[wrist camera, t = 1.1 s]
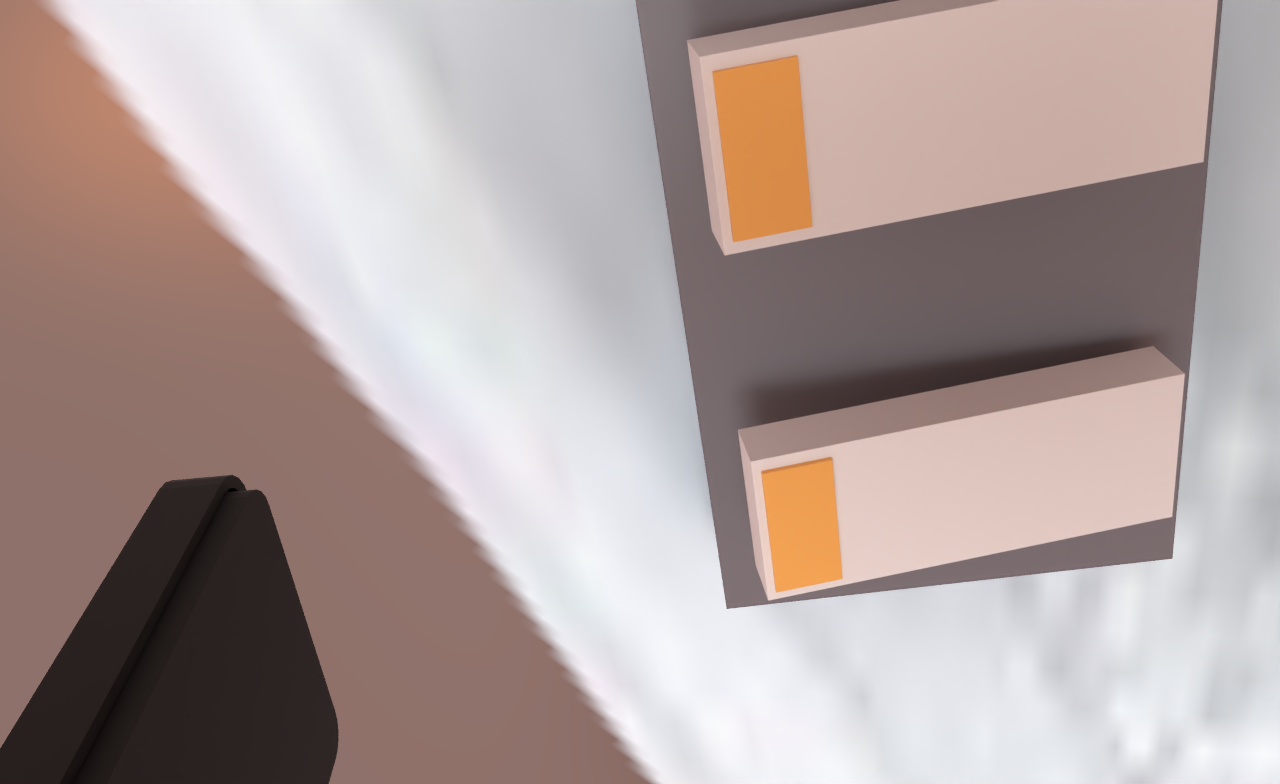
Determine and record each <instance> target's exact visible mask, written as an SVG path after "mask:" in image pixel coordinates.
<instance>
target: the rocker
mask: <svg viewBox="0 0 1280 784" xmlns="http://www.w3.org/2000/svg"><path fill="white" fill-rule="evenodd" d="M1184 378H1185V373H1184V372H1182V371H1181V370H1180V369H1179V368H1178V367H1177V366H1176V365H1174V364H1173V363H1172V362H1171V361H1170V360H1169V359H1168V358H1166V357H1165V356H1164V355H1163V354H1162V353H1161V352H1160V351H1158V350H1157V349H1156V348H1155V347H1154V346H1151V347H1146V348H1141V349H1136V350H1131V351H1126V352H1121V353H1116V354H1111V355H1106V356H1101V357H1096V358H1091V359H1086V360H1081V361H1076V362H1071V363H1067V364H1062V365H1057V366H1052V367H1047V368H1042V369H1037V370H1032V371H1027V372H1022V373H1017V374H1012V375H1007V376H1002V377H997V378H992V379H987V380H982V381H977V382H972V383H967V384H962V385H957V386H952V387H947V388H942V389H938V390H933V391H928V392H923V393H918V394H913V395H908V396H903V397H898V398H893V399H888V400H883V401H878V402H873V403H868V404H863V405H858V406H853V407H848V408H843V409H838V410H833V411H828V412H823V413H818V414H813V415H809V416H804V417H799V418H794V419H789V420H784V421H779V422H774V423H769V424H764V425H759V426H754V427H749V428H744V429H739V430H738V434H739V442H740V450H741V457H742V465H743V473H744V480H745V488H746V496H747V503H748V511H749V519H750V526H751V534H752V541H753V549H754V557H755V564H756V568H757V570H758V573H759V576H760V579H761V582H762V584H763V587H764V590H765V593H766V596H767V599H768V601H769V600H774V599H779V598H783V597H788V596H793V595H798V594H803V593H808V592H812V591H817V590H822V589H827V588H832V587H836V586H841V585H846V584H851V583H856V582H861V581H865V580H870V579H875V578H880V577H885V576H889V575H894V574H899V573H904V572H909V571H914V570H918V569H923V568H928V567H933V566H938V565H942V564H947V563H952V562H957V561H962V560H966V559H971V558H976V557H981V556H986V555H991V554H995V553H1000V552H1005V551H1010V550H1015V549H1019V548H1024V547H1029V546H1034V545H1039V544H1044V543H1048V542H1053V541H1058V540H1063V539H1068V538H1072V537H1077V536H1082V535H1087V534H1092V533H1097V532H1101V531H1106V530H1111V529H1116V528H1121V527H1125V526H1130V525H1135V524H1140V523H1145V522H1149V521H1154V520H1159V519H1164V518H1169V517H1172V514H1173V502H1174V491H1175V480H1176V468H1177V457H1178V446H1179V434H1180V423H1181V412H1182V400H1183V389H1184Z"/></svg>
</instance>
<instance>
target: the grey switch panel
mask: <svg viewBox="0 0 1280 784" xmlns="http://www.w3.org/2000/svg"><path fill="white" fill-rule="evenodd" d="M893 1H898V0H636V5H637V12H638V19H639V25H640V32H641V39H642V46H643V52H644V59H645V66H646V72H647V79H648V86H649V92H650V99H651V106H652V112H653V119H654V126H655V132H656V139H657V146H658V152H659V159H660V166H661V172H662V179H663V186H664V193H665V199H666V206H667V213H668V219H669V226H670V233H671V239H672V246H673V253H674V259H675V266H676V273H677V279H678V286H679V293H680V299H681V306H682V313H683V319H684V326H685V333H686V339H687V346H688V353H689V360H690V366H691V373H692V380H693V386H694V393H695V400H696V406H697V413H698V420H699V426H700V433H701V440H702V446H703V453H704V460H705V466H706V473H707V480H708V486H709V493H710V500H711V507H712V513H713V520H714V527H715V533H716V540H717V547H718V553H719V560H720V567H721V573H722V580H723V587H724V593H725V600H726V607H727V609H729V608H738V607H747V606H756V605H765V604H774V603H783V602H792V601H800V600H809V599H818V598H827V597H836V596H845V595H854V594H862V593H871V592H880V591H889V590H898V589H907V588H916V587H924V586H933V585H942V584H951V583H960V582H969V581H978V580H986V579H995V578H1004V577H1013V576H1022V575H1031V574H1040V573H1048V572H1057V571H1066V570H1075V569H1084V568H1093V567H1102V566H1110V565H1119V564H1128V563H1137V562H1146V561H1155V560H1164V559H1172V555H1173V544H1174V533H1175V522H1176V511H1177V500H1178V489H1179V478H1180V467H1181V456H1182V444H1183V433H1184V422H1185V411H1186V400H1187V389H1188V378H1189V367H1190V356H1191V345H1192V334H1193V322H1194V311H1195V300H1196V289H1197V278H1198V267H1199V256H1200V245H1201V234H1202V223H1203V211H1204V200H1205V189H1206V178H1207V167H1208V156H1209V145H1210V134H1211V123H1212V112H1213V100H1214V89H1215V78H1216V67H1217V56H1218V45H1219V34H1220V23H1221V12H1222V1H1223V0H1218V3H1217V15H1216V26H1215V37H1214V49H1213V60H1212V71H1211V83H1210V94H1209V105H1208V117H1207V128H1206V139H1205V151H1204V162H1201V163H1195V164H1190V165H1185V166H1180V167H1175V168H1170V169H1165V170H1160V171H1154V172H1149V173H1144V174H1139V175H1134V176H1129V177H1124V178H1119V179H1114V180H1108V181H1103V182H1098V183H1093V184H1088V185H1083V186H1078V187H1073V188H1068V189H1062V190H1057V191H1052V192H1047V193H1042V194H1037V195H1032V196H1027V197H1021V198H1016V199H1011V200H1006V201H1001V202H996V203H991V204H986V205H981V206H975V207H970V208H965V209H960V210H955V211H950V212H945V213H940V214H935V215H929V216H924V217H919V218H914V219H909V220H904V221H899V222H894V223H888V224H883V225H878V226H873V227H868V228H863V229H858V230H853V231H848V232H842V233H837V234H832V235H827V236H822V237H817V238H812V239H807V240H801V241H796V242H791V243H786V244H781V245H776V246H771V247H766V248H761V249H755V250H750V251H745V252H740V253H735V254H730V255H724V253H723V251H722V249H721V248H720V246H719V244H718V242H717V240H716V238H715V236H714V234H713V232H712V228H711V221H710V213H709V205H708V198H707V190H706V182H705V175H704V167H703V159H702V152H701V144H700V137H699V129H698V121H697V114H696V106H695V98H694V91H693V83H692V75H691V68H690V60H689V53H688V45H687V40H691V39H696V38H701V37H707V36H712V35H717V34H723V33H728V32H733V31H739V30H744V29H749V28H755V27H760V26H765V25H771V24H776V23H781V22H787V21H792V20H797V19H803V18H808V17H813V16H819V15H824V14H829V13H835V12H840V11H845V10H850V9H856V8H861V7H866V6H872V5H877V4H882V3H888V2H893ZM1151 346H1154V347H1155V348H1156V349H1157V350H1158V351H1160V352H1161V353H1162V354H1163V355H1164V356H1165V357H1166V358H1168V359H1169V360H1170V361H1171V362H1172V363H1173V364H1174V365H1176V366H1177V367H1178V368H1179V369H1180V370H1181V371H1182V372H1184V373H1185V378H1184V389H1183V400H1182V412H1181V423H1180V434H1179V446H1178V457H1177V468H1176V480H1175V491H1174V502H1173V514H1172V517H1169V518H1164V519H1159V520H1154V521H1149V522H1145V523H1140V524H1135V525H1130V526H1125V527H1121V528H1116V529H1111V530H1106V531H1101V532H1097V533H1092V534H1087V535H1082V536H1077V537H1072V538H1068V539H1063V540H1058V541H1053V542H1048V543H1044V544H1039V545H1034V546H1029V547H1024V548H1019V549H1015V550H1010V551H1005V552H1000V553H995V554H991V555H986V556H981V557H976V558H971V559H966V560H962V561H957V562H952V563H947V564H942V565H938V566H933V567H928V568H923V569H918V570H914V571H909V572H904V573H899V574H894V575H889V576H885V577H880V578H875V579H870V580H865V581H861V582H856V583H851V584H846V585H841V586H836V587H832V588H827V589H822V590H817V591H812V592H808V593H803V594H798V595H793V596H788V597H783V598H779V599H774V600H769V601H768V599H767V596H766V593H765V590H764V587H763V584H762V582H761V579H760V576H759V573H758V570H757V568H756V564H755V557H754V549H753V541H752V534H751V526H750V519H749V511H748V503H747V496H746V488H745V480H744V473H743V465H742V457H741V450H740V442H739V434H738V430H739V429H744V428H749V427H754V426H759V425H764V424H769V423H774V422H779V421H784V420H789V419H794V418H799V417H804V416H809V415H813V414H818V413H823V412H828V411H833V410H838V409H843V408H848V407H853V406H858V405H863V404H868V403H873V402H878V401H883V400H888V399H893V398H898V397H903V396H908V395H913V394H918V393H923V392H928V391H933V390H938V389H942V388H947V387H952V386H957V385H962V384H967V383H972V382H977V381H982V380H987V379H992V378H997V377H1002V376H1007V375H1012V374H1017V373H1022V372H1027V371H1032V370H1037V369H1042V368H1047V367H1052V366H1057V365H1062V364H1067V363H1071V362H1076V361H1081V360H1086V359H1091V358H1096V357H1101V356H1106V355H1111V354H1116V353H1121V352H1126V351H1131V350H1136V349H1141V348H1146V347H1151Z"/></svg>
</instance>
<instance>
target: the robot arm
mask: <svg viewBox="0 0 1280 784" xmlns="http://www.w3.org/2000/svg"><path fill="white" fill-rule="evenodd" d="M337 749H338V723H337V717H336V713H335V709H334V706H333V703H332V700H331V697H330V694H329V691H328V687H327V684H326V681H325V678H324V675H323V672H322V669H321V666H320V662H319V660H318V656H317V653H316V650H315V647H314V644H313V641H312V638H311V634H310V631H309V628H308V625H307V622H306V619H305V616H304V612H303V609H302V606H301V603H300V600H299V597H298V594H297V591H296V588H295V584H294V581H293V578H292V575H291V572H290V569H289V566H288V563H287V560H286V557H285V553H284V550H283V547H282V544H281V541H280V538H279V534H278V532H277V529H276V525H275V522H274V519H273V516H272V513H271V510H270V506H269V504H268V501H267V499H266V497H265V495H264V494H263V493H262V492H261V491H259V490H248V491H247V490H246V488H245V486H244V484H243V483H242V482H241V480H240V479H239V478H238V477H236V476H233V475H228V476H217V477H205V478H194V479H183V480H172V481H169V482H166V483H165V484H164V485H163V486H162V487H161V488H160V489H159V491H158V492H157V494H156V496H155V497H154V499H153V500H152V502H151V504H150V505H149V507H148V509H147V510H146V512H145V513H144V515H143V517H142V518H141V520H140V522H139V523H138V525H137V527H136V528H135V530H134V531H133V533H132V535H131V536H130V538H129V540H128V541H127V543H126V545H125V546H124V548H123V549H122V551H121V553H120V554H119V556H118V558H117V559H116V561H115V563H114V564H113V566H112V567H111V569H110V571H109V572H108V574H107V576H106V577H105V579H104V580H103V582H102V584H101V585H100V587H99V589H98V590H97V592H96V593H95V595H94V597H93V598H92V600H91V602H90V603H89V605H88V607H87V608H86V610H85V611H84V613H83V615H82V616H81V618H80V620H79V621H78V623H77V624H76V626H75V628H74V629H73V631H72V633H71V634H70V636H69V638H68V639H67V641H66V642H65V644H64V646H63V648H62V649H61V651H60V652H59V654H58V656H57V657H56V659H55V660H54V662H53V664H52V665H51V667H50V669H49V670H48V672H47V673H46V675H45V677H44V678H43V680H42V682H41V683H40V685H39V686H38V688H37V690H36V691H35V693H34V695H33V696H32V698H31V700H30V701H29V703H28V704H27V706H26V708H25V709H24V711H23V713H22V714H21V716H20V717H19V719H18V721H17V722H16V724H15V726H14V727H13V729H12V730H11V732H10V734H9V735H8V737H7V739H6V740H5V742H4V744H3V745H2V747H1V748H0V784H328V783H329V780H330V777H331V773H332V770H333V766H334V763H335V759H336V754H337Z"/></svg>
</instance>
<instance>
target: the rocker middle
mask: <svg viewBox="0 0 1280 784" xmlns="http://www.w3.org/2000/svg"><path fill="white" fill-rule="evenodd" d="M1217 3H1218V0H898V1H893V2H888V3H882V4H877V5H872V6H866V7H861V8H856V9H850V10H845V11H840V12H835V13H829V14H824V15H819V16H813V17H808V18H803V19H797V20H792V21H787V22H781V23H776V24H771V25H765V26H760V27H755V28H749V29H744V30H739V31H733V32H728V33H723V34H717V35H712V36H707V37H701V38H696V39H691V40H687V45H688V53H689V60H690V68H691V75H692V83H693V91H694V98H695V106H696V114H697V121H698V129H699V137H700V144H701V152H702V159H703V167H704V175H705V182H706V190H707V198H708V205H709V213H710V221H711V228H712V232H713V234H714V236H715V238H716V240H717V242H718V244H719V246H720V248H721V249H722V251H723V253H724V255H730V254H735V253H740V252H745V251H750V250H755V249H761V248H766V247H771V246H776V245H781V244H786V243H791V242H796V241H801V240H807V239H812V238H817V237H822V236H827V235H832V234H837V233H842V232H848V231H853V230H858V229H863V228H868V227H873V226H878V225H883V224H888V223H894V222H899V221H904V220H909V219H914V218H919V217H924V216H929V215H935V214H940V213H945V212H950V211H955V210H960V209H965V208H970V207H975V206H981V205H986V204H991V203H996V202H1001V201H1006V200H1011V199H1016V198H1021V197H1027V196H1032V195H1037V194H1042V193H1047V192H1052V191H1057V190H1062V189H1068V188H1073V187H1078V186H1083V185H1088V184H1093V183H1098V182H1103V181H1108V180H1114V179H1119V178H1124V177H1129V176H1134V175H1139V174H1144V173H1149V172H1154V171H1160V170H1165V169H1170V168H1175V167H1180V166H1185V165H1190V164H1195V163H1201V162H1204V151H1205V139H1206V128H1207V117H1208V105H1209V94H1210V83H1211V71H1212V60H1213V49H1214V37H1215V26H1216V15H1217Z"/></svg>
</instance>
